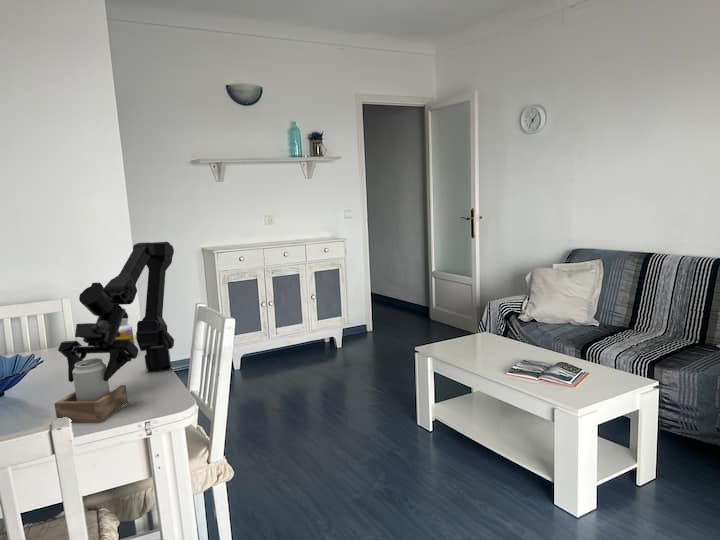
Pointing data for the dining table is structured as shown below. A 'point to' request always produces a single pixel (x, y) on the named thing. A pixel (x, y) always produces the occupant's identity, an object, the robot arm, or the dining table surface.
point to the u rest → (91, 406)
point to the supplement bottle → (125, 331)
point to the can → (90, 380)
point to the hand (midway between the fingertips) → (87, 381)
